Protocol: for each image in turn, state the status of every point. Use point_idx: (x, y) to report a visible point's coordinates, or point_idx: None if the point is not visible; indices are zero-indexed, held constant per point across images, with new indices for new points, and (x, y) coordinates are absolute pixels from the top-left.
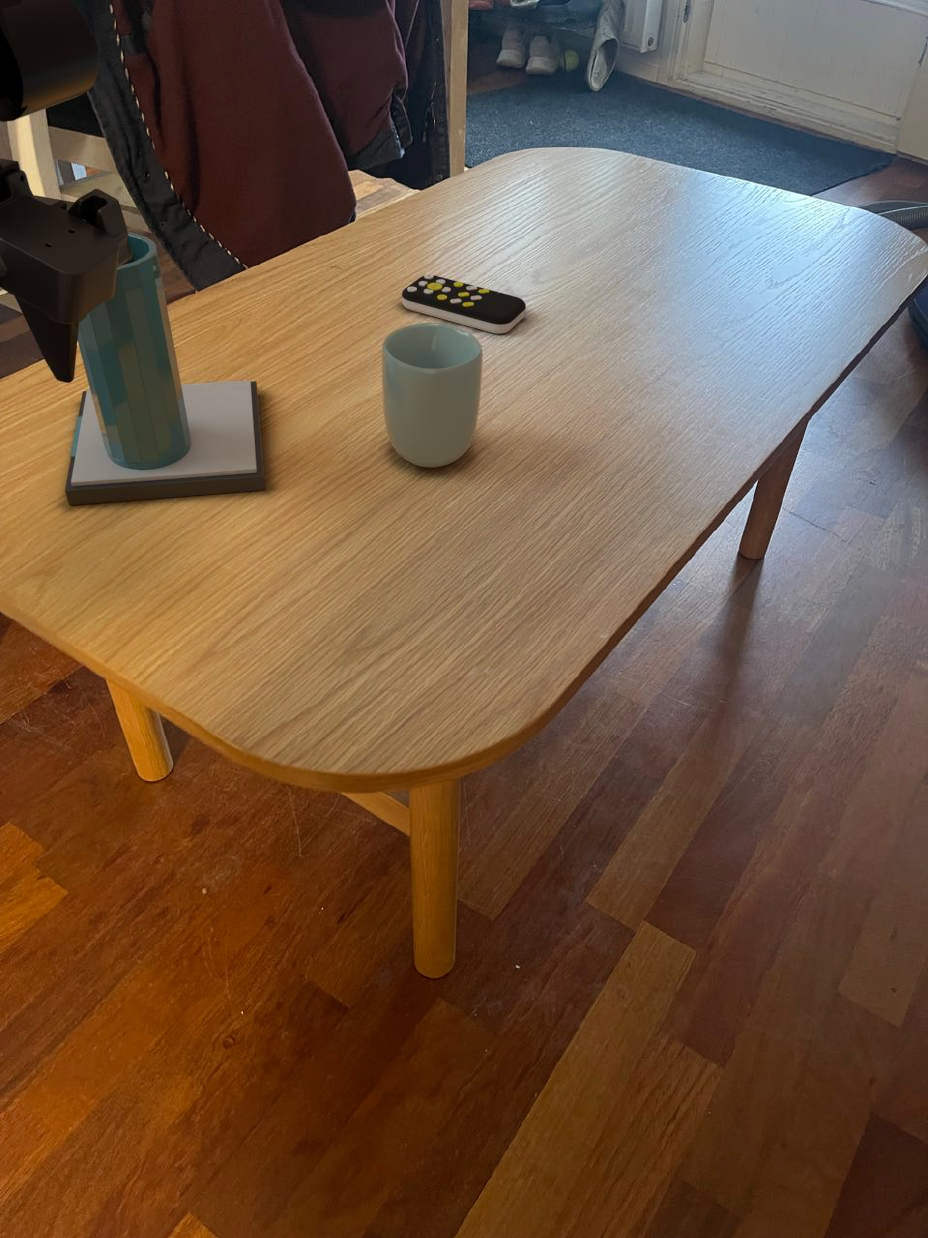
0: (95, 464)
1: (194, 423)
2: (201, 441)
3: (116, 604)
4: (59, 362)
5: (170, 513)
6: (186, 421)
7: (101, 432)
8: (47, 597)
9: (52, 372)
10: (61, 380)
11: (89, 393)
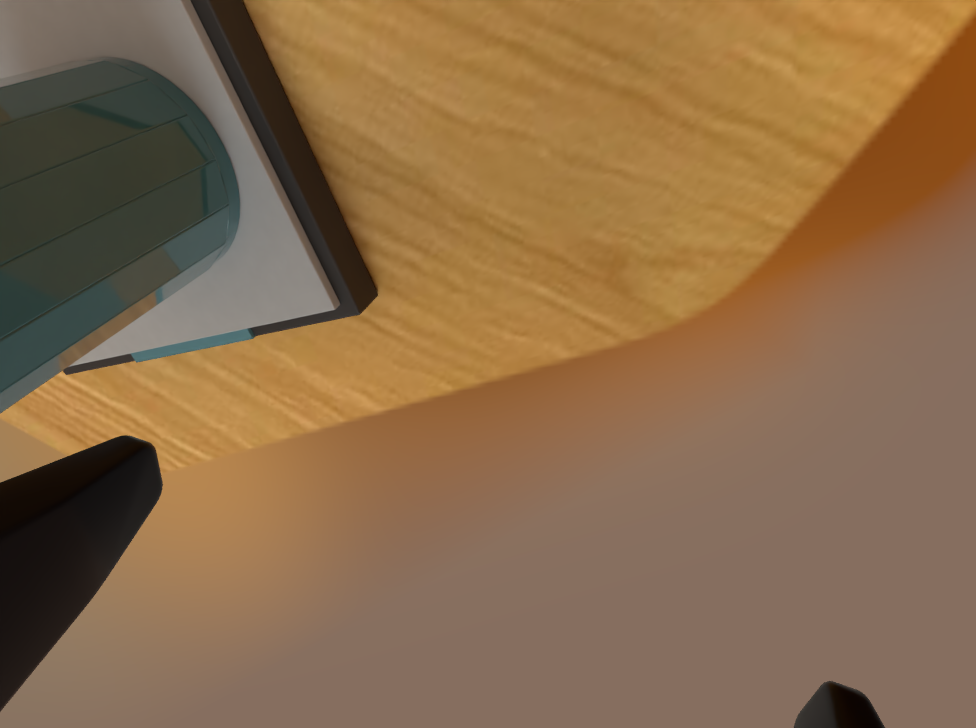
0: (257, 277)
1: None
2: (58, 36)
3: (728, 41)
4: (80, 536)
5: (326, 36)
6: (22, 74)
7: (176, 290)
8: (707, 237)
9: (140, 526)
10: (157, 477)
11: None
